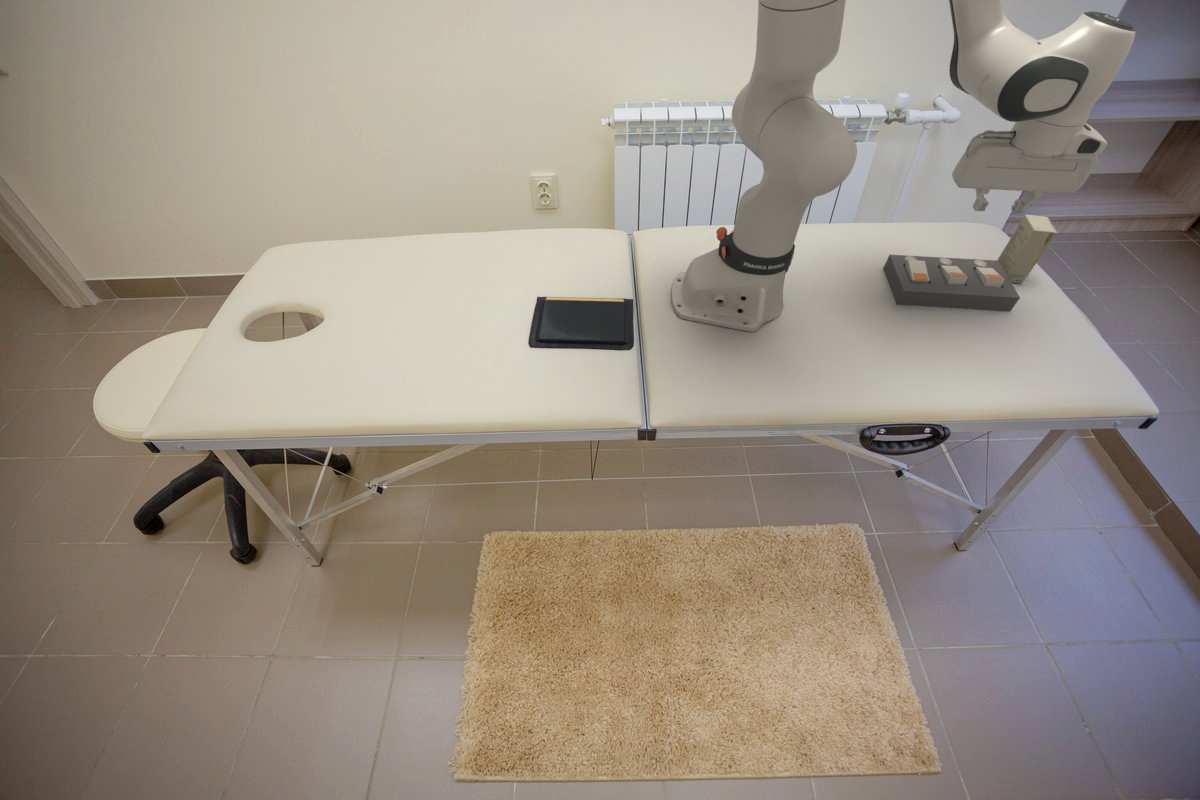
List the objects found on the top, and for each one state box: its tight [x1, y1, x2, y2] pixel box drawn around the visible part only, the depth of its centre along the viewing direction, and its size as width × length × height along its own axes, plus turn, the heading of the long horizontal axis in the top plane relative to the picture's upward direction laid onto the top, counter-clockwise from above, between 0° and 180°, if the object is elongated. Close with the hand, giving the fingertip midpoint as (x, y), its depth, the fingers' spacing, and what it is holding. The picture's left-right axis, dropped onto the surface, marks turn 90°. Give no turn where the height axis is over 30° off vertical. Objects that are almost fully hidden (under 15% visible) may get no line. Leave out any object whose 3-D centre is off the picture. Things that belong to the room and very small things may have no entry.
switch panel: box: [882, 254, 1021, 312], centre depth 116 cm, size 22×12×4 cm, turn 85°
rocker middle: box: [940, 265, 968, 285], centre depth 115 cm, size 3×5×2 cm, turn 175°
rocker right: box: [975, 267, 1004, 287], centre depth 114 cm, size 3×5×2 cm, turn 175°
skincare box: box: [997, 214, 1058, 284], centre depth 116 cm, size 6×4×12 cm
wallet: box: [528, 296, 635, 351], centre depth 110 cm, size 20×2×15 cm
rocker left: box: [905, 260, 929, 283], centre depth 115 cm, size 3×5×2 cm, turn 175°
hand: (997, 210), depth 102 cm, fingers open, 5 cm apart
